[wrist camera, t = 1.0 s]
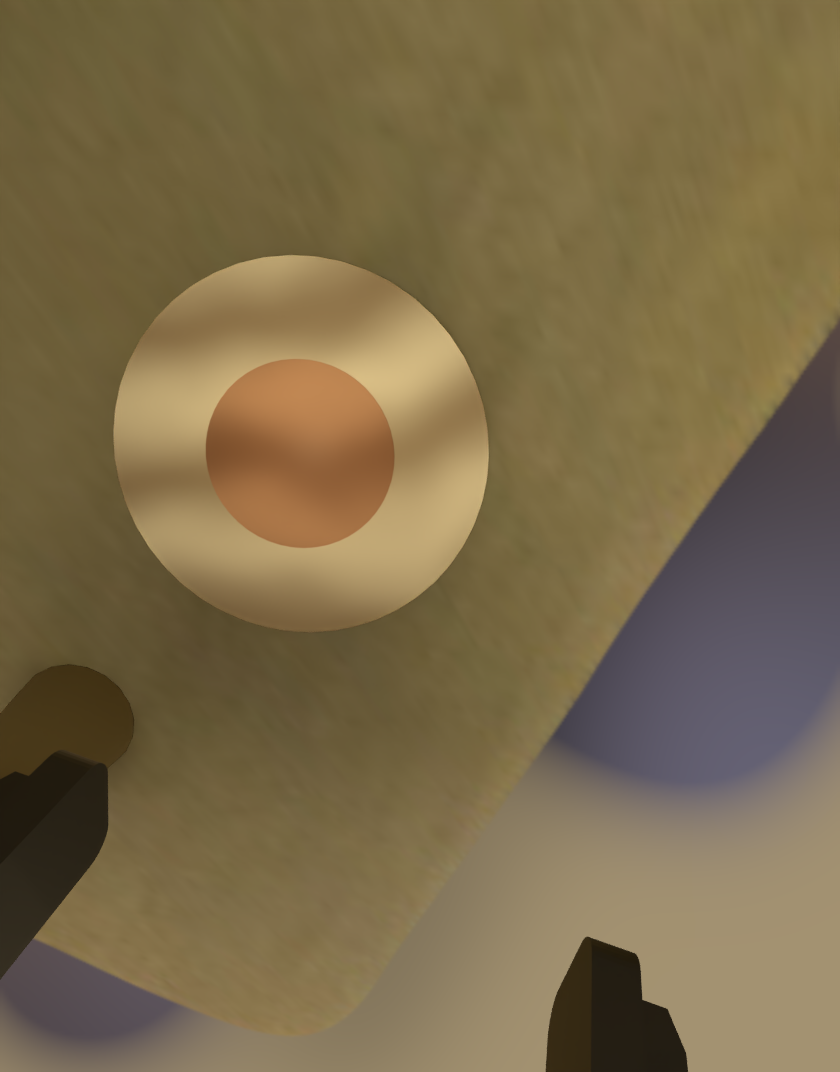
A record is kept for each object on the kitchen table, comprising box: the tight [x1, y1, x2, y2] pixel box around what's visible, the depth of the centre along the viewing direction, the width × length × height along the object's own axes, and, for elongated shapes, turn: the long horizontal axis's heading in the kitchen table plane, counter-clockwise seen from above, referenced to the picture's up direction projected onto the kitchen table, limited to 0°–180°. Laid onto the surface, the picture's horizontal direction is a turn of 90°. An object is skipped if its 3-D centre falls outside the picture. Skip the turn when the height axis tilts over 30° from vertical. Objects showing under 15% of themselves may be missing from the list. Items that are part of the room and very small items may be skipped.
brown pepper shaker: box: [0, 665, 134, 779], centre depth 30 cm, size 6×6×11 cm
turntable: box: [113, 255, 489, 632], centre depth 30 cm, size 16×16×3 cm
